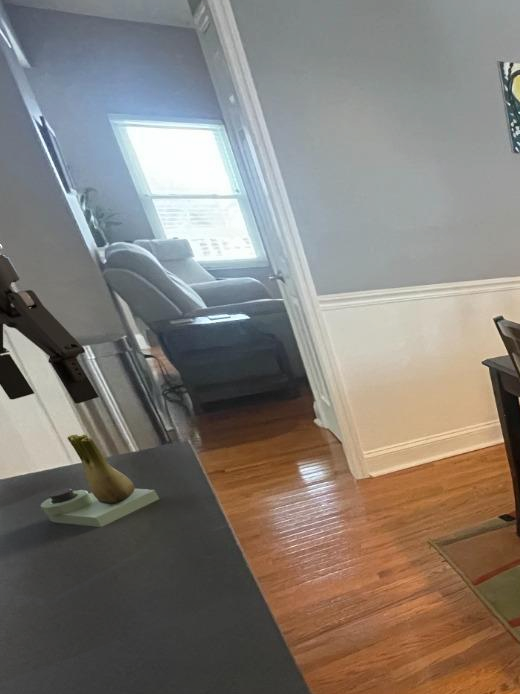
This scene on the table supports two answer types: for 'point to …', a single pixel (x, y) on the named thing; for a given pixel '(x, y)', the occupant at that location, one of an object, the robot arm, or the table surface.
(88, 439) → the fennel bulb
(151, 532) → the table surface
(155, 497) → the scale
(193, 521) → the table surface
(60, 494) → the scale button
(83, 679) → the table surface
